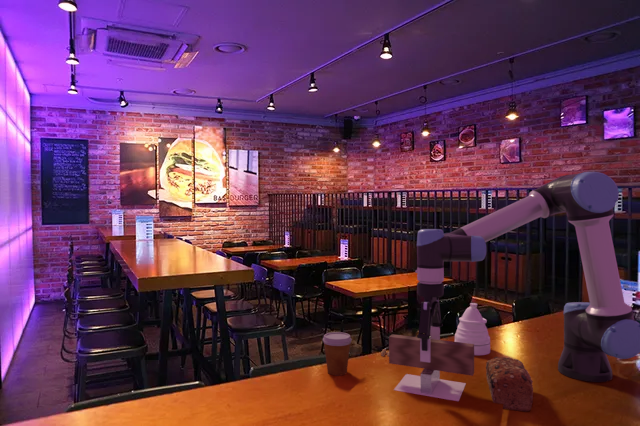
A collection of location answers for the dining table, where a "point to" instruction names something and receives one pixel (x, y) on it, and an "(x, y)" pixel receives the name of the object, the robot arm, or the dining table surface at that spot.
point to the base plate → (442, 389)
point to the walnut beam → (432, 354)
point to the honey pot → (473, 330)
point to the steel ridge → (429, 380)
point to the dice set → (384, 353)
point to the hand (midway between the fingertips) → (430, 354)
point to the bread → (509, 383)
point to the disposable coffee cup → (337, 352)
